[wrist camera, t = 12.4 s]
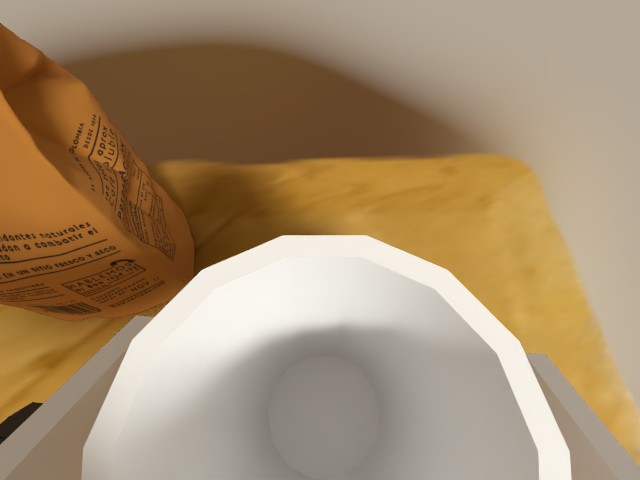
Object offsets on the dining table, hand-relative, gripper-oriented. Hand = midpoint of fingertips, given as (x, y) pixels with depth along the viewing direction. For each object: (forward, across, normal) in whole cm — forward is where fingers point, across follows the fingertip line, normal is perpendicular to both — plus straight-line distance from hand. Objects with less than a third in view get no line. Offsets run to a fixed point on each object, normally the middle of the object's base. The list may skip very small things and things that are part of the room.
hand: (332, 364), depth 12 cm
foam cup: (+4, 0, -7) cm, 8 cm away
